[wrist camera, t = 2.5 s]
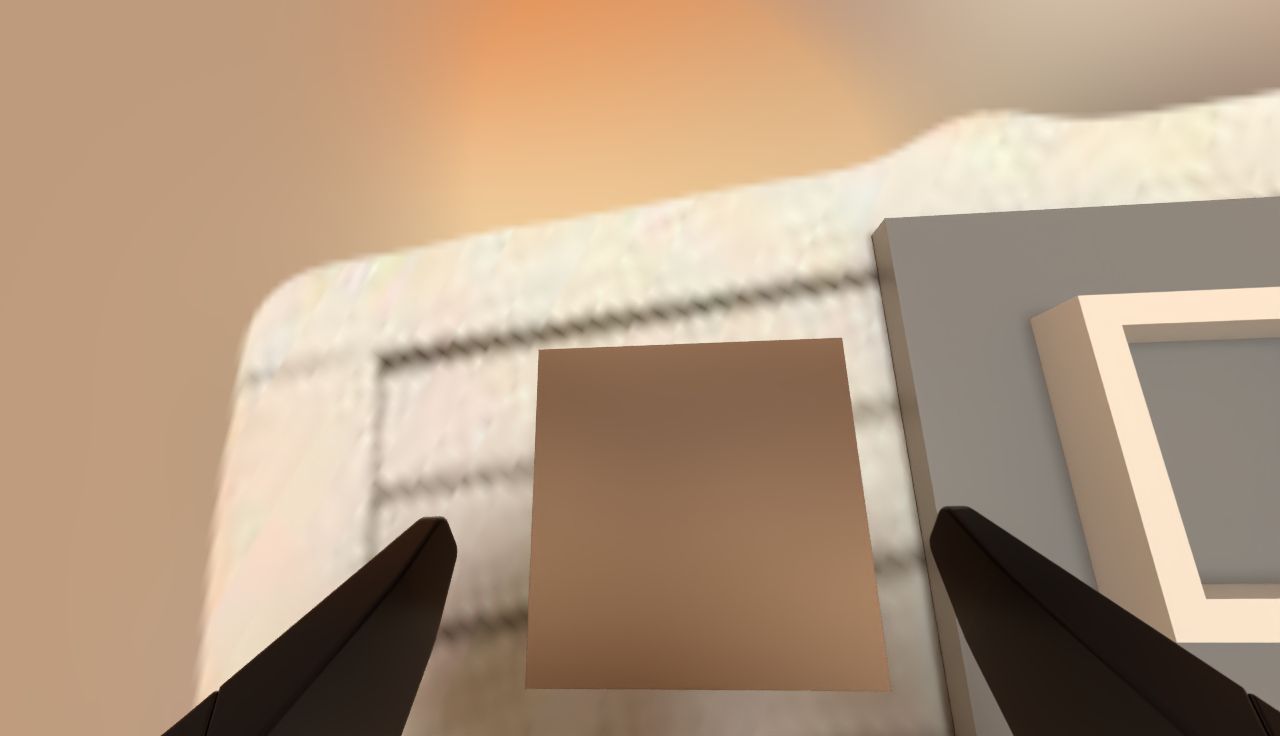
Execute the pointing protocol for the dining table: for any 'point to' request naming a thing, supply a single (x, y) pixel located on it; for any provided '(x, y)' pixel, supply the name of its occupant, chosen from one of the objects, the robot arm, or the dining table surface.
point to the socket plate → (1102, 411)
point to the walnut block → (700, 522)
